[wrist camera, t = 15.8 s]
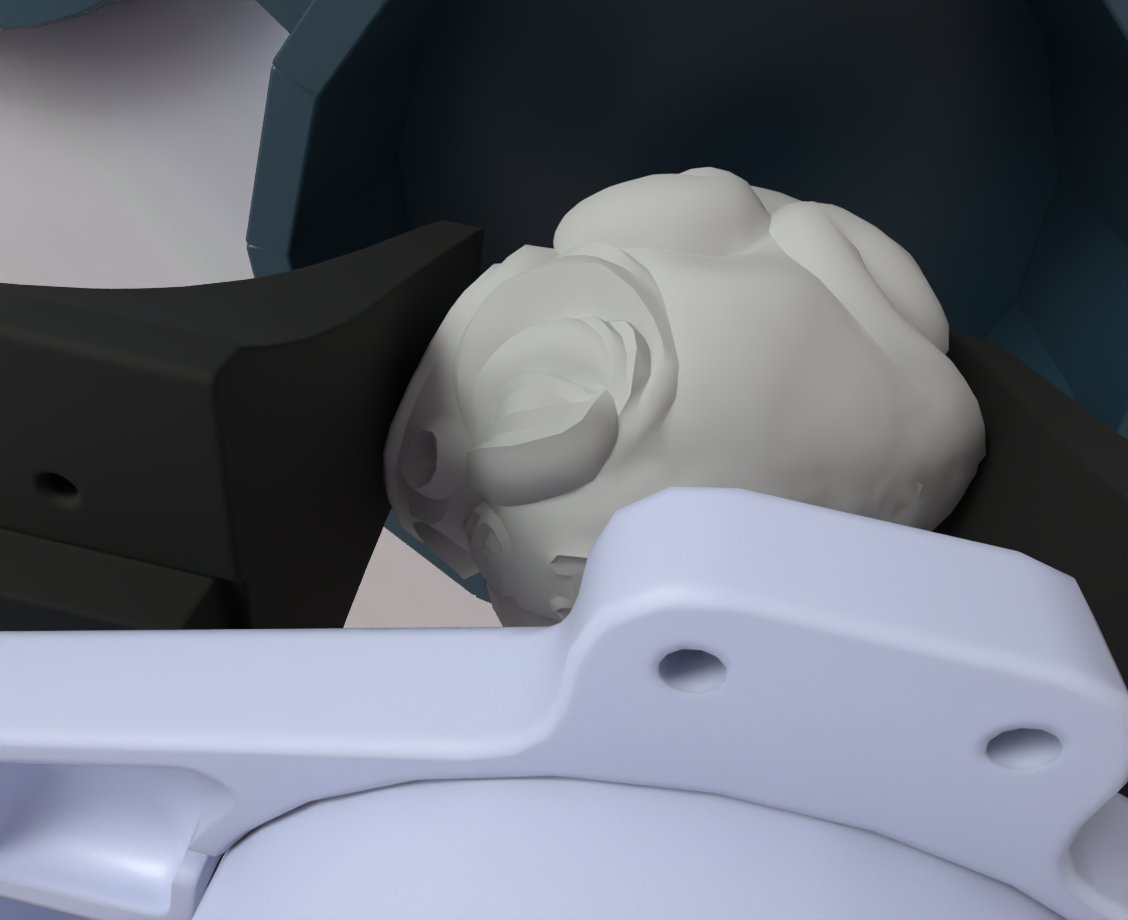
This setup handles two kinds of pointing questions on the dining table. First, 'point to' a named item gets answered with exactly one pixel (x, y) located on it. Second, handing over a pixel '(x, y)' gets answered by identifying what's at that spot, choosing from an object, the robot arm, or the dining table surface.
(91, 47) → the dining table surface
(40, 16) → the pan lid
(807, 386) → the grey lumpy piece
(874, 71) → the pan
